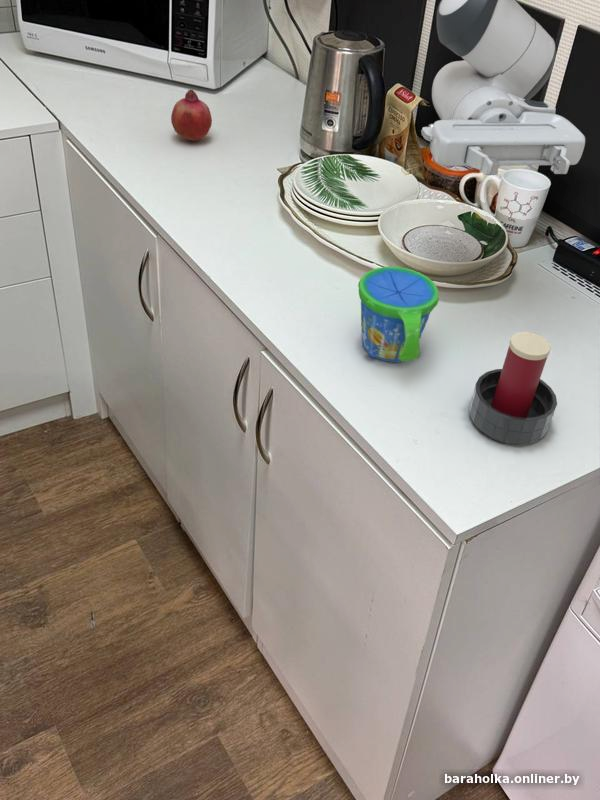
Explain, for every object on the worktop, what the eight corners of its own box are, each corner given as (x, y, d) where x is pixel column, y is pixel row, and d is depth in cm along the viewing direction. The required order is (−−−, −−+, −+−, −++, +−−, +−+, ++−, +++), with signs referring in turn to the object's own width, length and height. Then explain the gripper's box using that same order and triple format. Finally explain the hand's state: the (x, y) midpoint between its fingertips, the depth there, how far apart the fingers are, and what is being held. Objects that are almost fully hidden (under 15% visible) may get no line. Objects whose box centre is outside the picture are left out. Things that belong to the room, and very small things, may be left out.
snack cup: (437, 383, 108) (452, 320, 101) (359, 383, 106) (369, 320, 100) (413, 316, 119) (425, 256, 113) (343, 316, 118) (351, 255, 112)
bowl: (496, 385, 108) (504, 359, 105) (561, 423, 103) (571, 396, 100) (452, 417, 102) (460, 390, 99) (519, 459, 97) (528, 431, 94)
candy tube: (502, 399, 105) (524, 326, 97) (532, 418, 102) (558, 344, 95) (481, 415, 102) (503, 341, 95) (512, 434, 100) (537, 360, 92)
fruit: (212, 133, 166) (213, 84, 160) (210, 149, 160) (210, 98, 154) (173, 131, 166) (172, 81, 159) (170, 146, 160) (168, 96, 153)
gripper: (421, 103, 107) (454, 145, 97) (562, 103, 111) (609, 144, 100) (413, 148, 111) (445, 194, 101) (550, 147, 115) (594, 191, 104)
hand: (528, 169), depth 100 cm, fingers open, 8 cm apart
